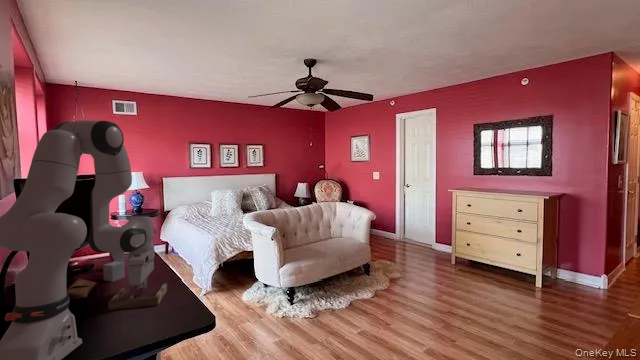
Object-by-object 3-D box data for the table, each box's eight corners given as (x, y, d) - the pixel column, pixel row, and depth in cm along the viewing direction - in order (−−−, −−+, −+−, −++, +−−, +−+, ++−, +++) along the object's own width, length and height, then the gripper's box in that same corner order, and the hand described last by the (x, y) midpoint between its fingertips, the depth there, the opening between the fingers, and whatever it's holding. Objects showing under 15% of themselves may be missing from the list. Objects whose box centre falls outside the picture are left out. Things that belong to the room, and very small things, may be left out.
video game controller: (123, 310, 122) (129, 295, 120) (115, 303, 123) (120, 288, 122) (145, 300, 131) (151, 285, 130) (137, 293, 132) (143, 279, 131)
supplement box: (122, 265, 173) (121, 243, 172) (125, 268, 168) (124, 245, 168) (109, 267, 169) (108, 245, 168) (111, 270, 164) (111, 247, 164)
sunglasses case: (88, 297, 131) (77, 284, 129) (69, 308, 129) (58, 295, 127) (99, 282, 148) (89, 270, 146) (83, 292, 145) (73, 280, 144)
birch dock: (157, 305, 123) (157, 297, 123) (108, 309, 119) (108, 301, 119) (167, 290, 138) (167, 283, 138) (124, 293, 134) (123, 286, 134)
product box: (115, 276, 156) (115, 260, 156) (125, 277, 154) (124, 262, 154) (103, 280, 150) (102, 264, 150) (112, 282, 148) (112, 265, 148)
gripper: (141, 248, 141) (142, 280, 142) (124, 262, 122) (125, 299, 122) (157, 247, 143) (158, 279, 144) (143, 261, 123) (144, 297, 124)
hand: (143, 288), depth 133 cm, fingers closed
